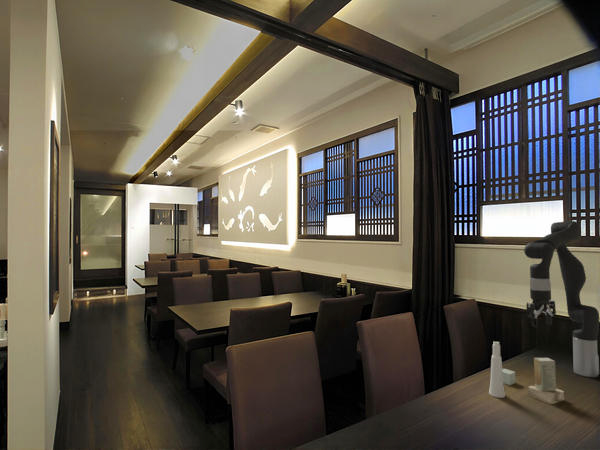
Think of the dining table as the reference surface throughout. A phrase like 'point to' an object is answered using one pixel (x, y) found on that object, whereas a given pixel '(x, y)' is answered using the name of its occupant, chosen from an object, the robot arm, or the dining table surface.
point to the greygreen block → (508, 377)
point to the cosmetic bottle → (496, 373)
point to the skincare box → (544, 374)
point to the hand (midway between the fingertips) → (541, 325)
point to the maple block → (546, 395)
